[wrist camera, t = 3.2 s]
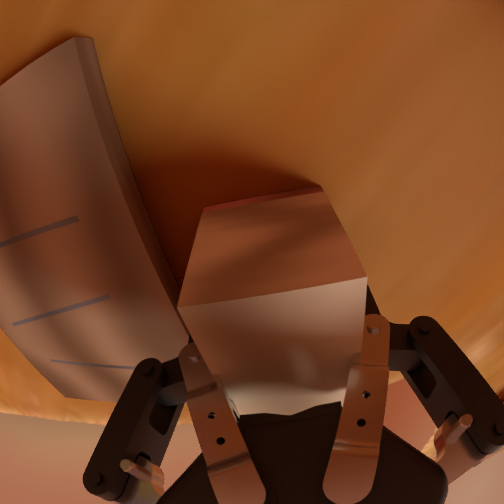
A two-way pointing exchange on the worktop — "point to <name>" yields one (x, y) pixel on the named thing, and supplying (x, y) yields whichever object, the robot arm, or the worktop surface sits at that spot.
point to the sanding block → (275, 300)
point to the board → (78, 234)
